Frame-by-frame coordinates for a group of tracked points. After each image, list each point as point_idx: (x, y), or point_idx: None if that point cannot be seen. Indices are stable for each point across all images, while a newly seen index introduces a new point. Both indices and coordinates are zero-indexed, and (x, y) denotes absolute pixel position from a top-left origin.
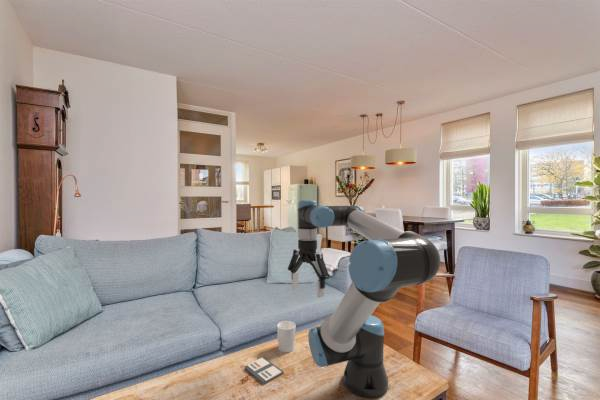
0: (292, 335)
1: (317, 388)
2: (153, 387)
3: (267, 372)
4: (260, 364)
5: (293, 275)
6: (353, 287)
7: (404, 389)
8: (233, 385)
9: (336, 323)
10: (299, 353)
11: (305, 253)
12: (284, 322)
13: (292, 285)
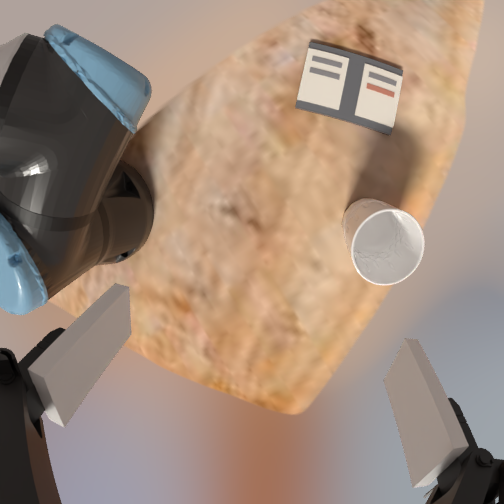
0: (348, 230)
1: (182, 115)
2: None
3: (329, 74)
4: (373, 96)
5: (449, 431)
6: None
7: None
8: (369, 11)
9: None
10: (315, 221)
11: None
12: (409, 269)
13: (426, 357)
